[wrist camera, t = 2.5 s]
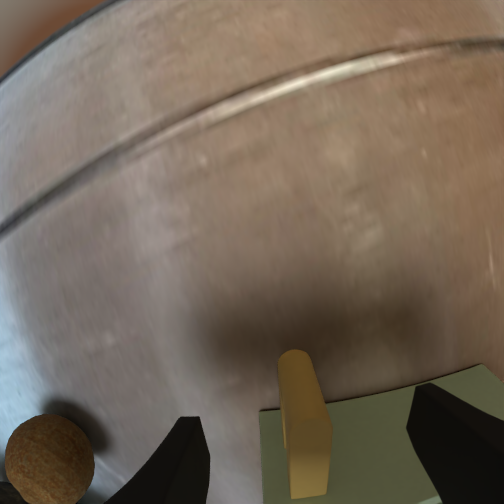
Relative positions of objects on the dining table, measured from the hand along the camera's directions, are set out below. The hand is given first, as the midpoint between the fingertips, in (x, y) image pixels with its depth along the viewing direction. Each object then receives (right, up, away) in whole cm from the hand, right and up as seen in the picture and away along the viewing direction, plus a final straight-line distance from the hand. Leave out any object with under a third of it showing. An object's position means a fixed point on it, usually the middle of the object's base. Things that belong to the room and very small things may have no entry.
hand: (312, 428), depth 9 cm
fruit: (-15, -7, +9) cm, 19 cm away
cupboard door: (+6, -1, +8) cm, 10 cm away
